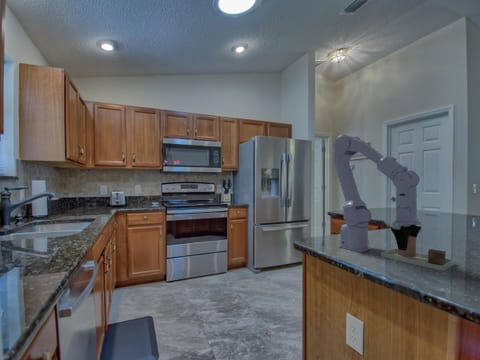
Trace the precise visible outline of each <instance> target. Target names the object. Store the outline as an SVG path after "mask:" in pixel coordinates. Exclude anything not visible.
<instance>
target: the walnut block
mask: <svg viewBox="0 0 480 360" xmlns="http://www.w3.org/2000/svg"><path fill="white" fill-rule="evenodd" d="M427 255H428V263H431V264H435V265H439V266H442V265H444V264H445V258H446V251H445V250H440V249H432V248H431V249H430V248H429V249H428V251H427Z"/></svg>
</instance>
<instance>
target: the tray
mask: <svg viewBox="0 0 480 360" xmlns="http://www.w3.org/2000/svg"><path fill="white" fill-rule="evenodd" d="M380 257H381V258H386V259H391V260H394V261H398V262H403V263H407V264H411V265H416V266H419V267H424V268H428V269H432V270H437V271H441V272H445V271H447V270H448V269H449V268H452V267H454V266H455V265H456V260H455V259H451V258H447V257H445V264H444V265H442V266H439V265H435V264H431V263H428V253H427V254H426V253H421V252H417V251H416V257H404V256H401V255H399V254H398V247H396V248H395V247H394V248H391V249H389V250H385V251H382V252H380Z"/></svg>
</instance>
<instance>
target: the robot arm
mask: <svg viewBox="0 0 480 360" xmlns="http://www.w3.org/2000/svg"><path fill="white" fill-rule="evenodd" d="M332 146H333V150H334V152H333V163H334V166H335V170H336V173H337V177H338V180H339V183H340V188H341V190H342V194H343V196H344V200H345V204H344V205H343V207H342V209H343V221H344V222H345V223H344V224H342V225H341V228H340V230H339V234H340V237H339V238H340V239H339V241H340V242H339V244H340V245H338V247H339V248H341V249H342V248H343V249H346V250H351V251H355V252H358V253H363V252H367V251H371V249H372V247H371V246H369V223H370V221H371V220H372V217H373V216H372V213H371V211H370V209H368V206H367V204H366V203H365V202H364V201H363V200H362V199H361V197H360V193H359V190H358V186H357V184H356V181H355V177H354V174H353V171H352V167H351V165H350V161H351V159H352V158H353V157H354V156H355V155H356V154H357V153H360V154H362V155H363V156H364V157H366V158H368V159H369V160H370V161H371V162H374V164H376V168H377V170H378V171H379V172H381V173H382V174H383V175H385V177H387V178H388V179H390V180H391V181H392V184H393V186H394V187H395V195H396V196H395V220H394V221H392V224H391V225H392V226H391V227H390V230H391V232H392V234H393V236H394V238H395V241H396V245H397V248H398V249H399V250H404V251H406V249H407V244H408V238H409V236H414V237H416V239H417V238H418V235H419V233H420V232H421V230H422V226H420V225H421V224H422V222H421V221H420V219H419V218H417V216H418V215H417V207H418V206H417V201H418V200H417V197H418V195H417V194H418V193H417V186H418V185H419V183H420V179H421V178H420V176H419V175H418V174H417V173H416V171H414V170H408V169H409V167H408V166H404V165H402V164H401V163H399V162H398V161H397V158H396V157H394V156H383V155H382V154H381V153H379V151H377V150H376V149H375V148H374V147H372V146H371V145H370V144H369V143H367V142H366V141H365V140H363V139H361V138H360V137H358V136H350V135H347V134H340V135H339V136H337V138H335V140H334V142H333V144H332Z"/></svg>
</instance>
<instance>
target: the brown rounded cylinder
mask: <svg viewBox="0 0 480 360" xmlns="http://www.w3.org/2000/svg"><path fill="white" fill-rule="evenodd" d="M416 252H417V238H416V237H414V236H409V238H408V244H407V249H406V251H404V250H399V249H398V254H399V255H401V256H404V257H416Z"/></svg>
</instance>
